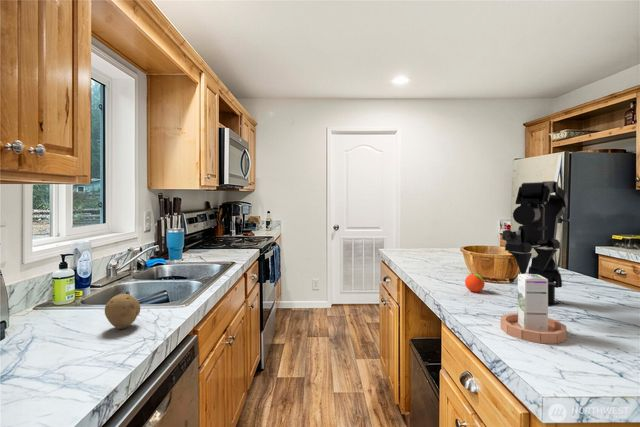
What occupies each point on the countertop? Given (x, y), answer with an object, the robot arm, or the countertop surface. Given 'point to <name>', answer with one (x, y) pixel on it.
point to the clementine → (474, 282)
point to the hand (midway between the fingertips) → (532, 272)
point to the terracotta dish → (553, 336)
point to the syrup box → (533, 302)
